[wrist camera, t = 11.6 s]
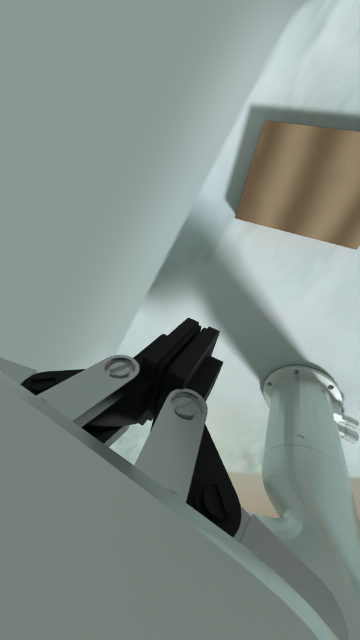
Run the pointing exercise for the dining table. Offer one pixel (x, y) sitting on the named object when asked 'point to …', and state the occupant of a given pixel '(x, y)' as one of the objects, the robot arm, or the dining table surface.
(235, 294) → the dining table surface
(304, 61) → the dining table surface
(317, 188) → the board
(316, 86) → the dining table surface
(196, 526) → the robot arm
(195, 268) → the dining table surface
